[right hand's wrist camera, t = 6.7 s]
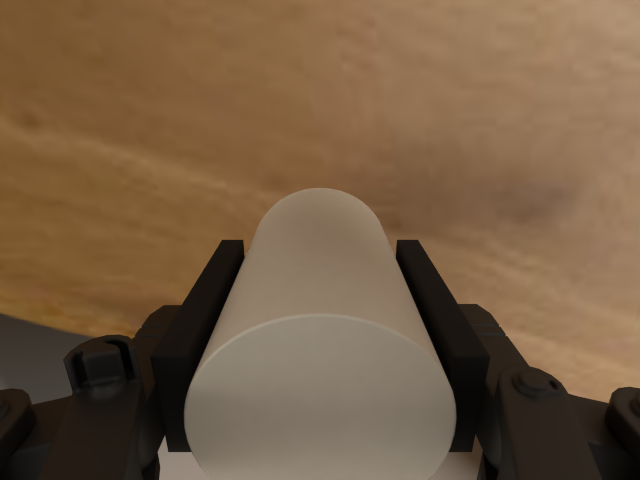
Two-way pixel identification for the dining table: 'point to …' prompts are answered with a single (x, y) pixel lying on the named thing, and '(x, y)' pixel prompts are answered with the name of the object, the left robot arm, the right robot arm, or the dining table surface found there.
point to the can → (320, 357)
